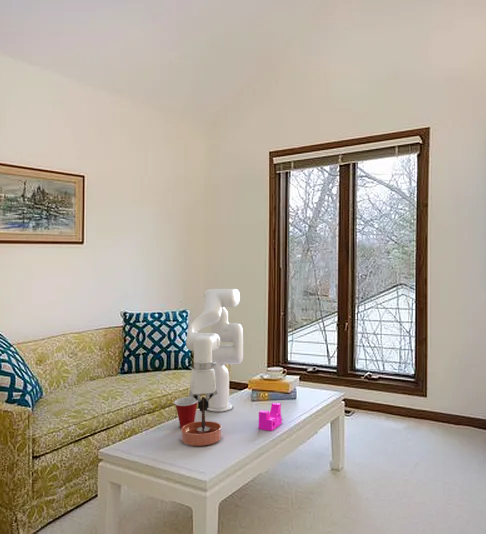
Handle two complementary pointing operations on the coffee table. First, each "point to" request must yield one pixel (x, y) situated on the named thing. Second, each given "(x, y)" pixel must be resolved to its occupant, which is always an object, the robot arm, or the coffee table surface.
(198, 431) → the meat pounder
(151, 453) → the coffee table surface
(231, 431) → the coffee table surface
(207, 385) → the robot arm
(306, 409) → the coffee table surface
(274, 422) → the toy block
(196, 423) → the bowl
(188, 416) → the plastic cup
